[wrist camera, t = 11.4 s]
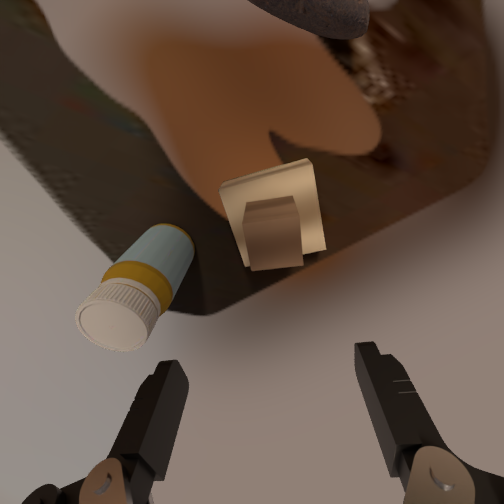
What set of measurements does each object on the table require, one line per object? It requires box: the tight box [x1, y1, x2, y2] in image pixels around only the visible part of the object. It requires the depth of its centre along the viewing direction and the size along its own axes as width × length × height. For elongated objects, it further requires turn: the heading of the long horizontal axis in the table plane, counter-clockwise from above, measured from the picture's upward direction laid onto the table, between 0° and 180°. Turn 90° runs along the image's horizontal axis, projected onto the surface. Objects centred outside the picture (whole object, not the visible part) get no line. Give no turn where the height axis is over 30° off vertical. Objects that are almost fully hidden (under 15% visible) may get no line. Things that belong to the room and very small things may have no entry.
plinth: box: [218, 158, 326, 267], centre depth 29 cm, size 10×10×4 cm
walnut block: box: [242, 195, 303, 271], centre depth 25 cm, size 5×5×6 cm
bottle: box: [75, 224, 195, 352], centre depth 28 cm, size 7×7×15 cm
